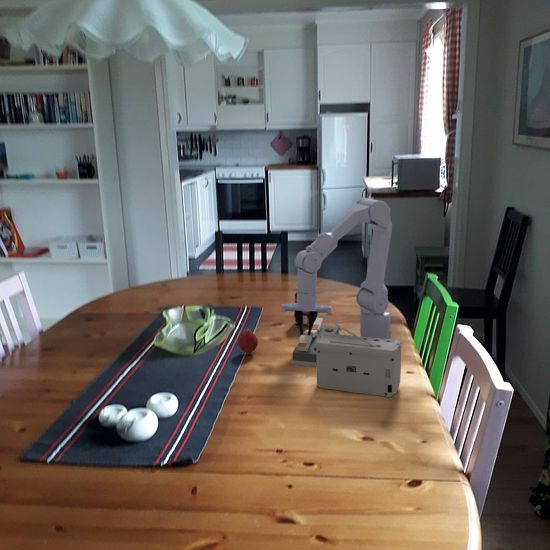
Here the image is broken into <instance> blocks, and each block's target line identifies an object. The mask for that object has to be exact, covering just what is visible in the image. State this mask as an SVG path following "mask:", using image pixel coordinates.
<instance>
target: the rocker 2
mask: <svg viewBox="0 0 550 550" xmlns="http://www.w3.org/2000/svg"><path fill="white" fill-rule="evenodd" d="M323 323H324V318H323V317H317V318H316V320H315V322H314V324H313V327H312V330H318V332H320V329H321V326H322V325H323Z"/></svg>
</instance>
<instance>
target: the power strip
mask: <svg viewBox="0 0 550 550" xmlns="http://www.w3.org/2000/svg"><path fill="white" fill-rule="evenodd" d="M322 333H329V334H340V335H341V332H340V327H338V326H336V325H335V326H334V325H323V324H322V326H321V329H320V332H318V334H317V335H316V336H315V337H313V338H312V340H311V343H310V345H309V348H308V351H298V350H296V347H295V348H294V349H293V351H292V354H291V355H292V356H291V357H292V360H291V362H290V364H291V365H293V366H303V367H314V368H317V356H316V341H317V339H318V337H319V336H320V335H321V334H322Z"/></svg>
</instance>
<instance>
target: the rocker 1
mask: <svg viewBox="0 0 550 550" xmlns="http://www.w3.org/2000/svg"><path fill="white" fill-rule="evenodd" d="M311 340H312V336H309V335H301V336H299V339H298V342H297V344H296V346H295V348H296V350H298V351H308V348H309V345H310V343H311Z"/></svg>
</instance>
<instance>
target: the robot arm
mask: <svg viewBox="0 0 550 550" xmlns="http://www.w3.org/2000/svg"><path fill="white" fill-rule="evenodd" d="M391 211H392V209H391V207H390V206H389V205H388V204H387V203H386V202H385V201H383V200H378V199H377V200H376V199H372V198H368V197H361V198H359V199H358V200H356V203H354V204H352V205H351V207H350V209H349V211H347V213H346V214H345V215H344V216H343V217H342V218H341V220H340V221H339V222H338V223H337V224H336V225H335V226H333V228H332V229H330V231H329V232H322V233H319V234H318V235H317V238H316V239H315V240H314V241H312V243H311V244H310V245H307V246H305V249H304V250H301V251H299V252H298V253H297V254H296V257H295V259H294V260H293V261H294V265H295V267H296V269H297V278H296V279H297V280H296V281H297V284H296V285H297V286H296V290H297V291H296V292H297V303H295V302H294V303H282V304H281V313H286V312H293V313H294V314H293V317H294V320H295V319H296V321H297V323H298V324H297V323H296V324H297V325H298V329H299V335H300V336H301V335H303V332H304V326H303V312H310V313H309V325H308V329H307V330H308V335H309V336H310V335H311V330H312V327H313V324H314V322H315V320H316V318H318V314H327V315H331V314H332V305H323V304H317V291H318V290H317V286H318V285H317V284H318V270H320V269H321V267H322V263H323V261H324V260H325V259H326V258H327V257H328V256H329V255H331V253H332V252H333V251H334V250H335V249H336V248H337V247H338V241H339V240H340V239H341V238H343V237H344V235H347V233H349V232H350V231H351V230H352V229H353V228H355V227H356V225H359V224H368V226H369V227H370V228H371V229H372V237H371V243H370V244H371V245H370V251H369V256H368V257H369V258H368V264H367V270H366V277H365V280H364V281H363V282H361V283H360V287H359V290H358V291H357V293H356V296H355V298H356V299H355V300H356V301H355V302H356V303H357V304H358V306H359V311H360V312H359V313H360V315H359V316H360V319H359V321H360V323H359V324H360V325H359V326H360V327H359V328H360V329H359V335H358V336H360V337H370V338H381V339H390V338H391V333H392V332H391V331H392V330H391V312H388V311H386V310H387V309H388V308H389V307H388V306H389V298H388V293H389V290H388V289H387V286H386V285H385V275H386V270H387V262H388V259H389V258H388V256H389V251H390V244H391V239H392V233H393V232H392V231H393V222H392V219H391ZM300 336H299V337H300Z"/></svg>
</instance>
